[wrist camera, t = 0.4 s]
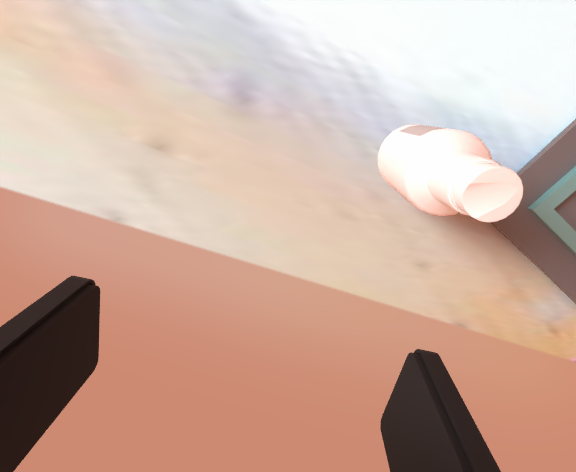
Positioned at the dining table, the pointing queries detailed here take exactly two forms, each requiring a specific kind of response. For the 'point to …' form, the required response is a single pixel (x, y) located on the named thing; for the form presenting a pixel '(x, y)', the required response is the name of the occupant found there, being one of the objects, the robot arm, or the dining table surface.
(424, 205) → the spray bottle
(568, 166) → the dock
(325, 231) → the dining table surface
